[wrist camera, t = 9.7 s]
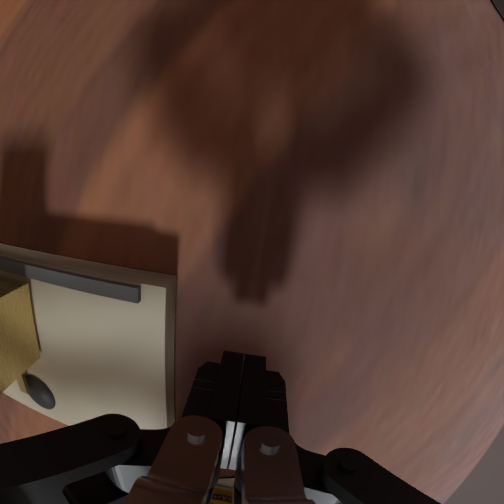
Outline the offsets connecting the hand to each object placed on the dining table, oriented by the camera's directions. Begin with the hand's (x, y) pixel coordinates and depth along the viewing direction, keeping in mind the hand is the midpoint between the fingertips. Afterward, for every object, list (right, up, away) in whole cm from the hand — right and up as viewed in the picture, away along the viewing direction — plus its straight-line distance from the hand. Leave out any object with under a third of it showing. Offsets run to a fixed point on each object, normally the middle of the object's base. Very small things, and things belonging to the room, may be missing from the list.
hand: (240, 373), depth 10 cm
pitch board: (-14, 0, +3) cm, 14 cm away
